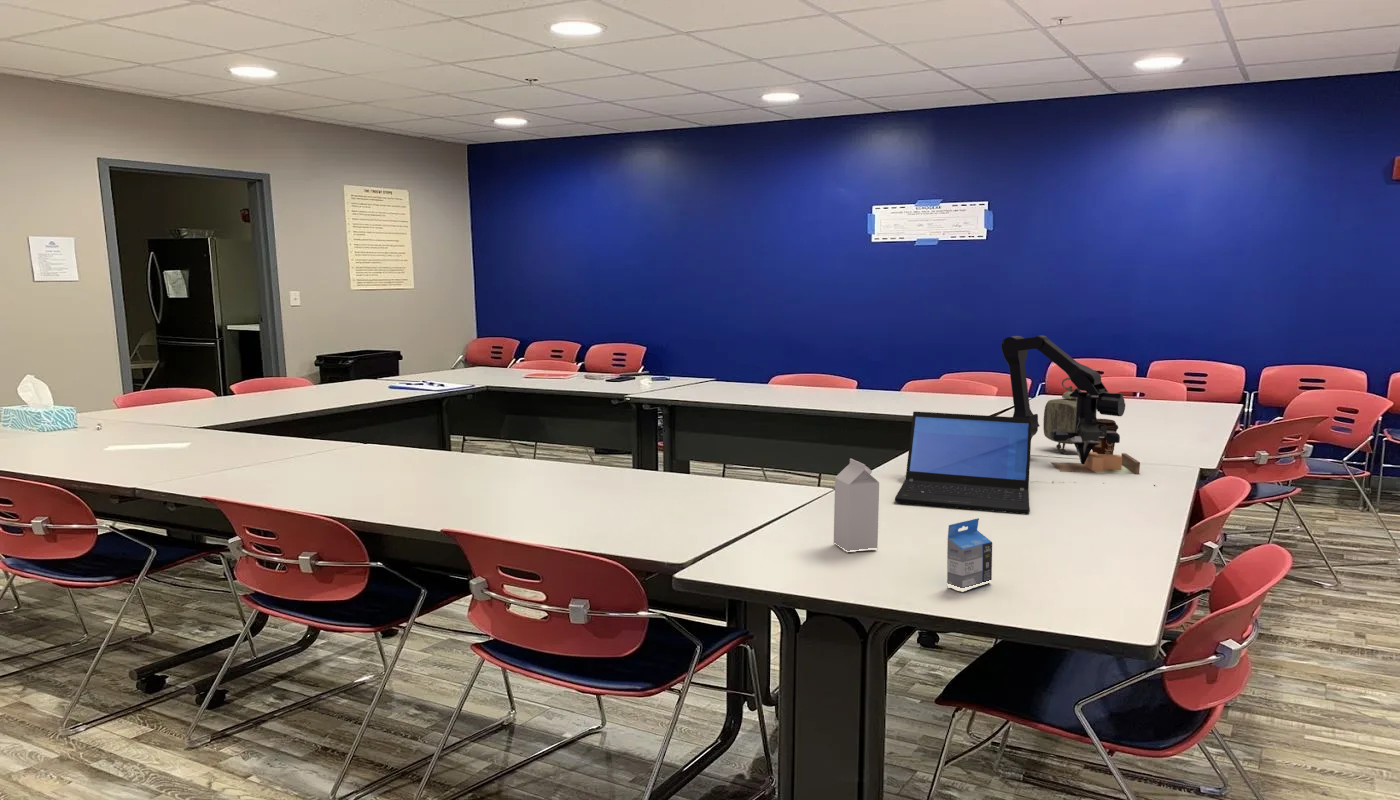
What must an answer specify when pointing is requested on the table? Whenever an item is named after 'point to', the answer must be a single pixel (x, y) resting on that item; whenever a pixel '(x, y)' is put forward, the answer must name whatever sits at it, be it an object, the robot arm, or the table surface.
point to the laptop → (968, 462)
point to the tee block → (1103, 461)
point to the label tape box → (968, 555)
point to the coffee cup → (1104, 445)
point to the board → (1127, 468)
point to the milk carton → (856, 508)
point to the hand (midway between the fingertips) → (1082, 464)
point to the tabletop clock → (1060, 415)
